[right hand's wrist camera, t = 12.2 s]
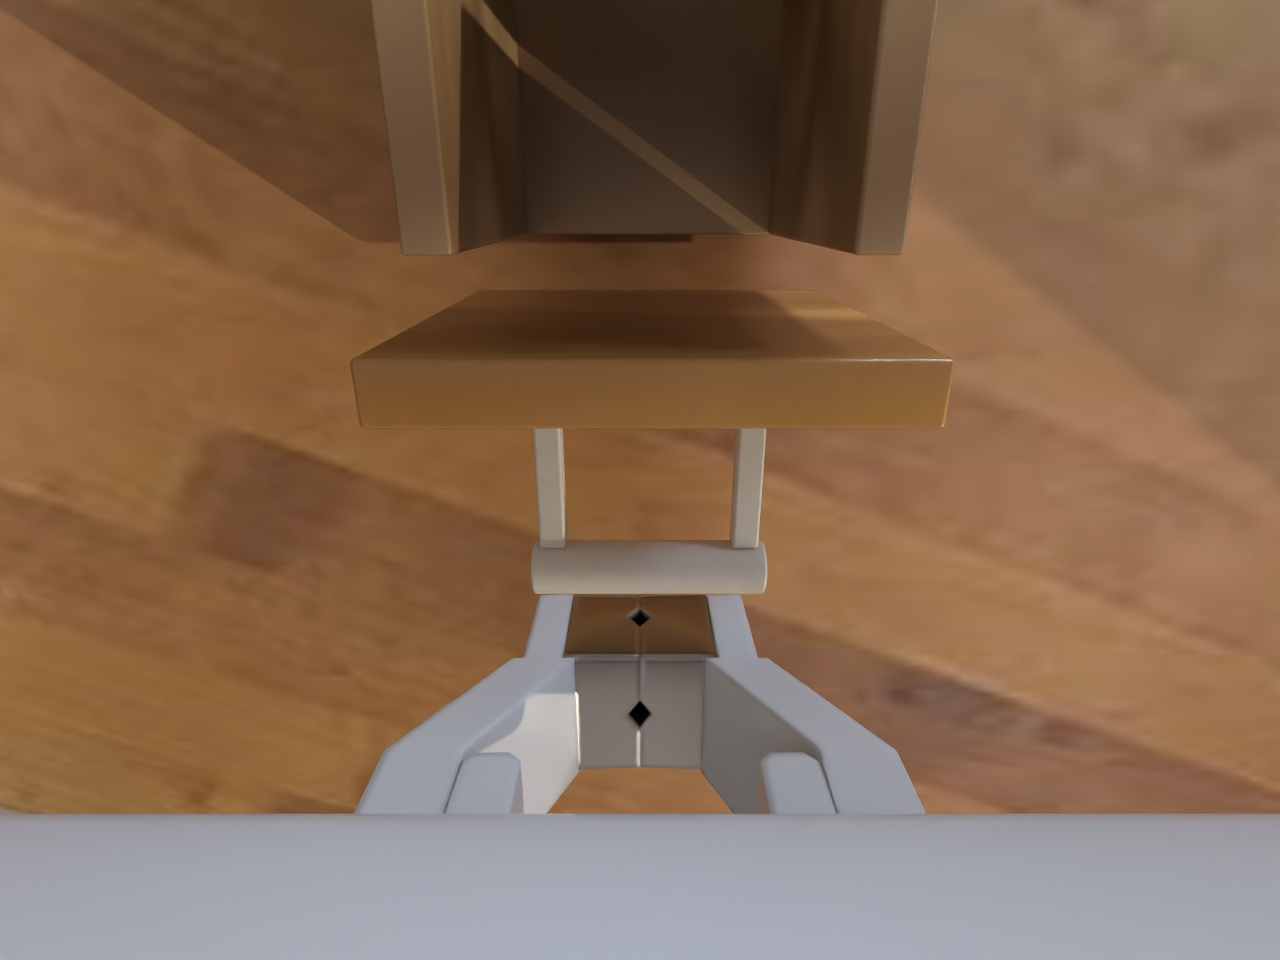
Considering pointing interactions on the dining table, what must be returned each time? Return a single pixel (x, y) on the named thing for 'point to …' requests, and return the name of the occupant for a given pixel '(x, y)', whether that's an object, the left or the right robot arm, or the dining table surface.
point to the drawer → (652, 204)
